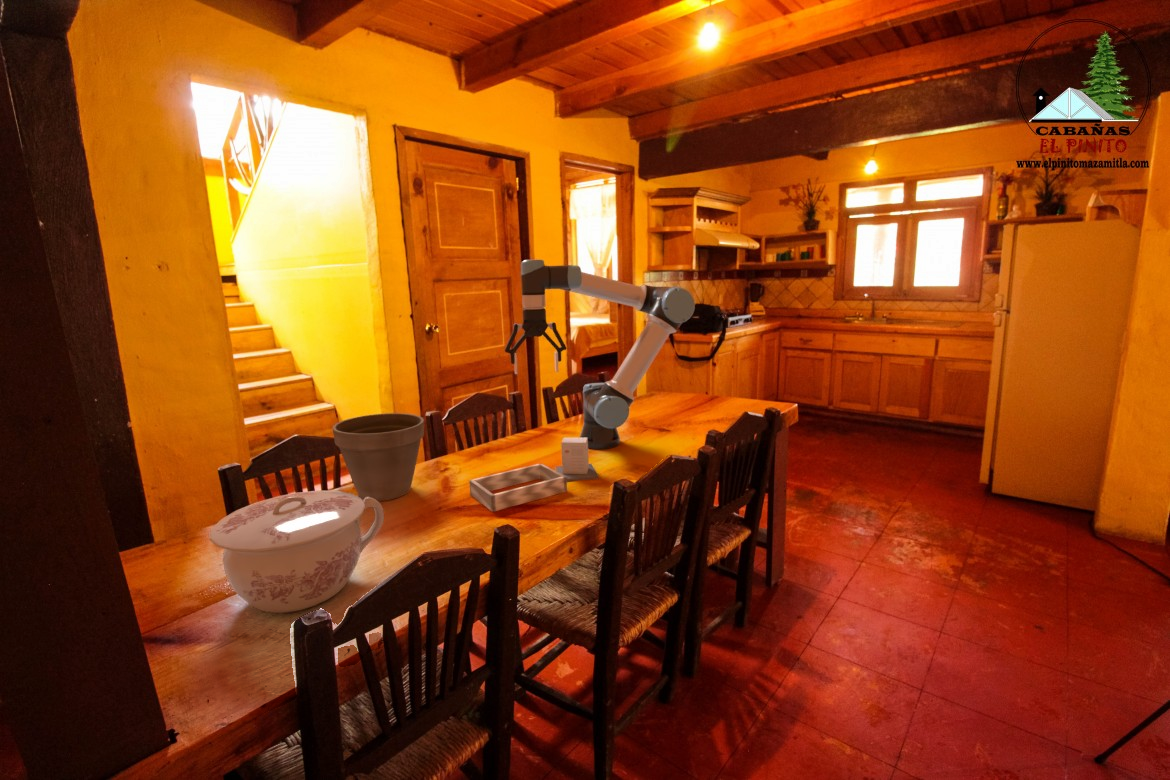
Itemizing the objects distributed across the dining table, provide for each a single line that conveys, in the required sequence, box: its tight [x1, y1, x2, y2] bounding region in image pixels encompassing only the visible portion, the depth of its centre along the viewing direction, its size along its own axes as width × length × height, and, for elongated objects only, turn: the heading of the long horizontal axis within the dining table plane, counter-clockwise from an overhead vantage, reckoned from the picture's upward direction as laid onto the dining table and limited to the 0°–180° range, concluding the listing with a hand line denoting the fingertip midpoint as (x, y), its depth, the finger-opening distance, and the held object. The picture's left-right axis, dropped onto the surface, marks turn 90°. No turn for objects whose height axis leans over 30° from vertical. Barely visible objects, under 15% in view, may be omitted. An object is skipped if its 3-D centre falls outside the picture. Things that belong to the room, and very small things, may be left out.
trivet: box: [554, 463, 599, 482], centre depth 178 cm, size 12×12×1 cm
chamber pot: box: [208, 490, 385, 614], centre depth 111 cm, size 28×28×21 cm
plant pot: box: [332, 412, 425, 502], centre depth 164 cm, size 25×25×22 cm
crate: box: [468, 463, 568, 513], centre depth 163 cm, size 24×15×4 cm, turn 125°
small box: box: [560, 437, 590, 474], centre depth 177 cm, size 8×6×10 cm
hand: (536, 372), depth 185 cm, fingers open, 13 cm apart
